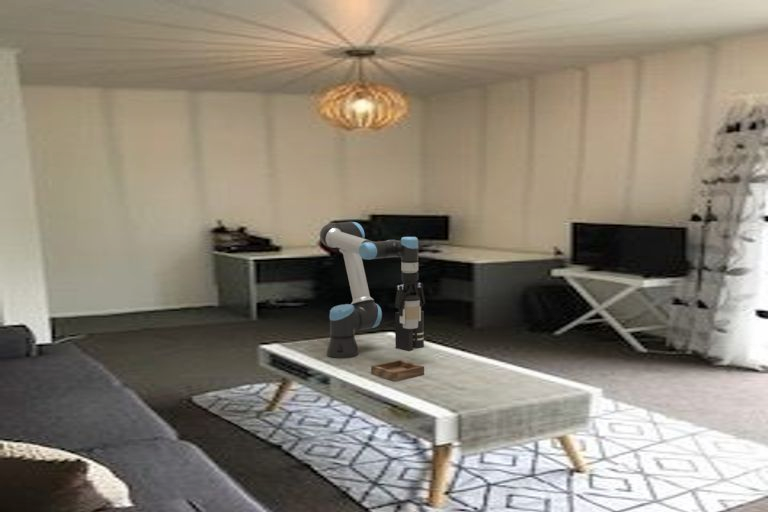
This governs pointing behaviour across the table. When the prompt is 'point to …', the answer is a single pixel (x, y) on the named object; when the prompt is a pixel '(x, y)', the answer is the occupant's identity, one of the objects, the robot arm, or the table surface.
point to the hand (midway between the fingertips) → (410, 321)
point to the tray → (397, 370)
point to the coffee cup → (411, 311)
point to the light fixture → (409, 335)
